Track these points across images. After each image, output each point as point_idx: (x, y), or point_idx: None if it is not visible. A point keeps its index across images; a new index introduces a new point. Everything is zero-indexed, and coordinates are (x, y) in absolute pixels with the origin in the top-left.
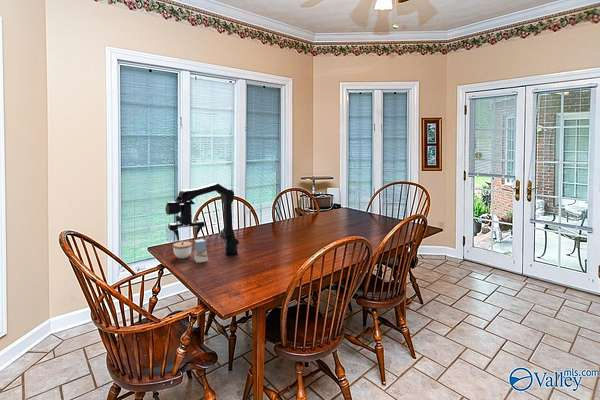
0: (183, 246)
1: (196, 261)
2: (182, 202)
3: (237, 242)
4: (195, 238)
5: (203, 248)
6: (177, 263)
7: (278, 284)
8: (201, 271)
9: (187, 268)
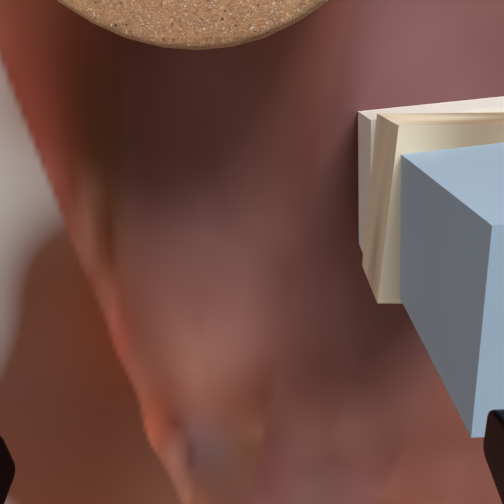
0: (192, 33)
1: (359, 223)
2: None
3: None
4: (498, 491)
5: None
6: (138, 179)
7: None
8: (336, 463)
9: (232, 363)
